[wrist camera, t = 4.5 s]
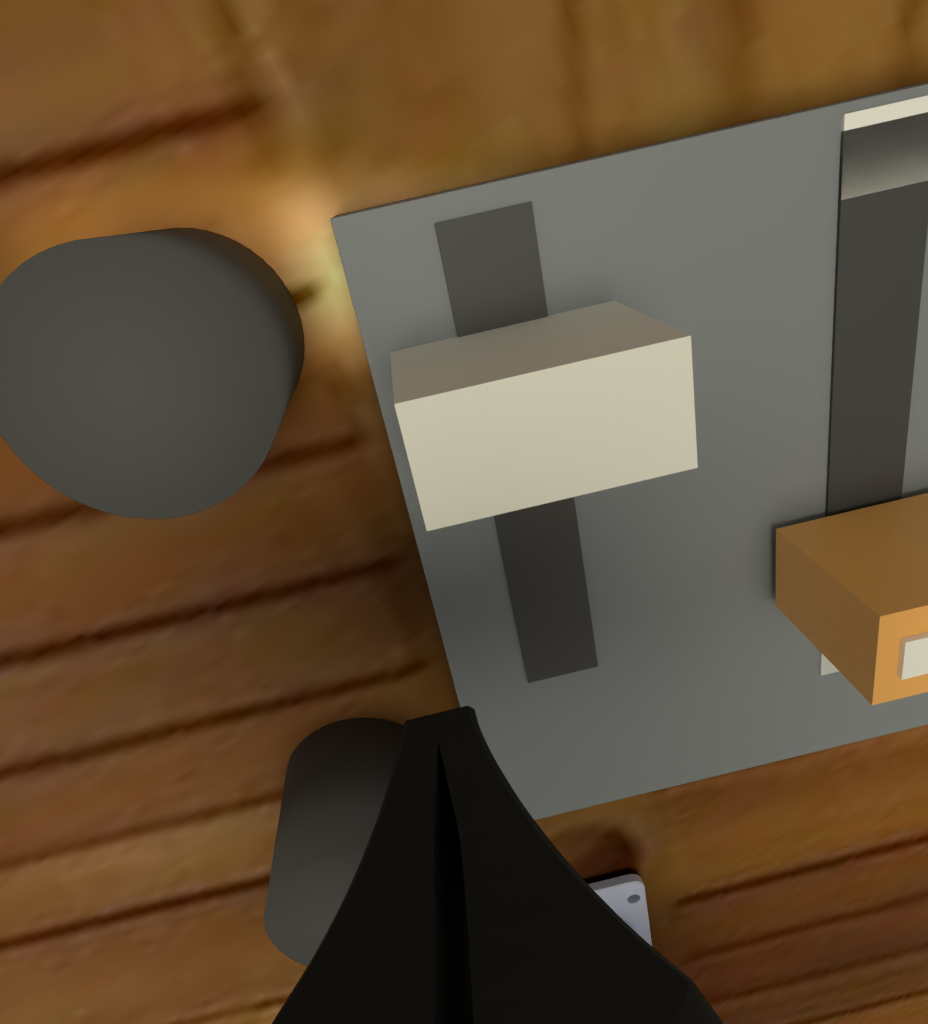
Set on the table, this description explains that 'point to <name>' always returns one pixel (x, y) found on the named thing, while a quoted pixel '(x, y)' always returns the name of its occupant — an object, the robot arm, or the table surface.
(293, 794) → the dark grey cylinder
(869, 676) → the breaker paddle
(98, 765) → the table surface
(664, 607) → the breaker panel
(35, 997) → the table surface
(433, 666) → the table surface
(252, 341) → the squat charcoal cylinder
